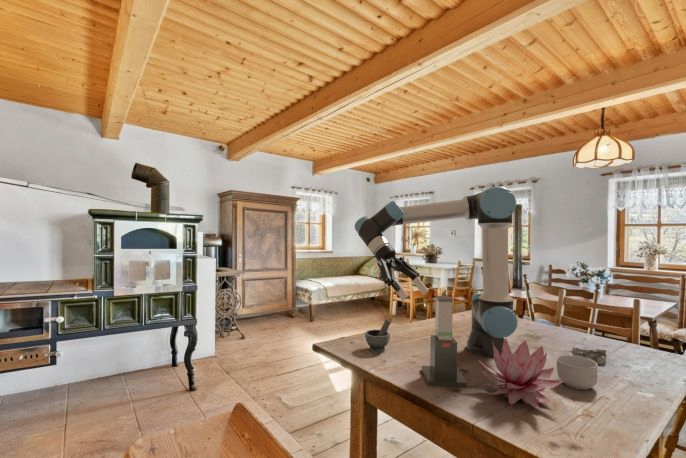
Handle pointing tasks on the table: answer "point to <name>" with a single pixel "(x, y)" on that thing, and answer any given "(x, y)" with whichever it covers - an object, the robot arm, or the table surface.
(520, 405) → the table surface
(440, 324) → the steel post
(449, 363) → the sleeve
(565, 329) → the table surface
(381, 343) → the mortar and pestle
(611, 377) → the table surface
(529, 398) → the decorative flower
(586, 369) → the teacup
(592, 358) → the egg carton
